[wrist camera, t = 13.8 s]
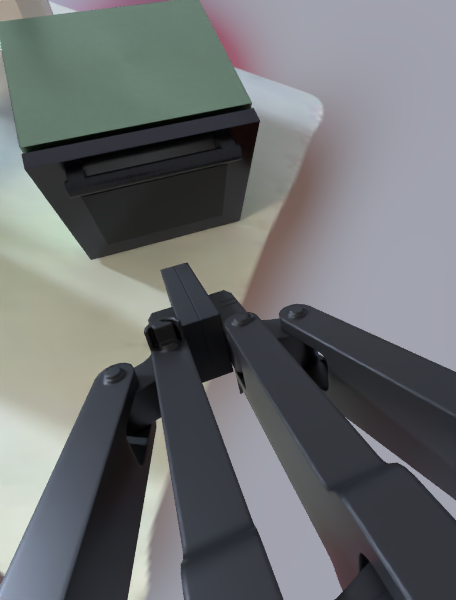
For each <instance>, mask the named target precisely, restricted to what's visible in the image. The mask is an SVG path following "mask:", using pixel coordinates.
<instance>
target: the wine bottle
mask: <svg viewBox="0 0 456 600" xmlns="http://www.w3.org/2000/svg"><path fill="white" fill-rule="evenodd" d="M49 15H53V12H52V9H51V7H50V4H49V1H48V0H0V21H8V20H16V19H25V18H33V17H41V16H49Z"/></svg>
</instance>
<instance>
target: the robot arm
mask: <svg viewBox="0 0 456 600" xmlns="http://www.w3.org/2000/svg"><path fill="white" fill-rule="evenodd" d="M161 274H162V277H163V280H164V283H165V287H166V290H167V293H168V296H169V300H170V303H171V306H172V307H171V308H167V309H164V310H161V311H158V312H154V313H152V314H151V316H150V317H149V319H148V322H149V324H148V325H147V327H146V328H145V330H144V334H145V336H146V339H147V342H148V345H149V347H150V350H151V356H150V357H149V358H148V359H147V360H146V361H145V362H143V363H142V364H140V365H138V366H137V367H135V368H134V367H133V366H132V365H131V364H128V363H119V364H115V365H112V366H110V367H108V368H106V369H105V370H103V371H102V372H101V373H100V374H99V375H98V376H97V378H96V379H95V381H94V383H93V385H92V387H91V390H90V392H89V394H88V396H87V398H86V400H85V403H84V405H83V407H82V409H81V411H80V413H79V416H78V418H77V420H76V422H75V424H74V426H73V429H72V431H71V433H70V435H69V437H68V440H67V442H66V444H65V446H64V448H63V450H62V453H61V455H60V457H59V459H58V461H57V463H56V466H55V468H54V470H53V472H52V474H51V477H50V479H49V481H48V483H47V485H46V487H45V490H44V492H43V494H42V496H41V498H40V500H39V503H38V505H37V507H36V509H35V511H34V513H33V516H32V518H31V520H30V522H29V524H28V527H27V529H26V531H25V533H24V535H23V537H22V540H21V542H20V544H19V546H18V548H17V550H16V553H15V555H14V557H13V559H12V561H11V563H10V566H9V568H8V570H7V572H6V574H5V577H4V579H3V581H2V583H1V585H0V600H127V599H128V593H129V587H130V581H131V575H132V569H133V563H134V557H135V551H136V545H137V539H138V533H139V527H140V521H141V515H142V509H143V504H144V498H145V492H146V486H147V480H148V474H149V468H150V462H151V456H152V450H153V444H154V438H155V432H156V420H157V419H159V418H160V417H162V423H163V430H164V436H165V442H166V449H167V455H168V461H169V467H170V474H171V480H172V486H173V492H174V499H175V505H176V511H177V517H178V524H179V530H180V536H181V542H182V549H183V561H182V563H181V579H182V587H183V595H184V600H283V597H282V594H281V592H280V589H279V587H278V584H277V581H276V578H275V576H274V573H273V570H272V567H271V565H270V562H269V559H268V557H267V554H266V551H265V549H264V546H263V543H262V541H261V538H260V535H259V533H258V531H257V529H256V527H255V526H254V523H253V521H252V518H251V515H250V513H249V510H248V507H247V505H246V502H245V499H244V496H243V494H242V491H241V488H240V485H239V483H238V480H237V477H236V474H235V472H234V469H233V466H232V464H231V461H230V458H229V455H228V453H227V450H226V447H225V445H224V442H223V439H222V436H221V434H220V431H219V428H218V425H217V423H216V420H215V417H214V415H213V412H212V409H211V406H210V403H209V401H208V398H207V395H206V392H205V390H204V387H203V384H202V383H203V382H206V381H209V380H211V379H214V378H217V377H220V376H222V375H225V374H228V373H231V372H233V368H232V365H233V366H234V368H235V372H236V376H237V381H238V385H239V389H240V394H241V393H243V391H244V393H245V395H246V397H247V399H248V401H249V403H250V405H251V407H252V409H253V410H254V412H255V414H256V416H257V418H258V420H259V422H260V424H261V426H262V428H263V430H264V432H265V434H266V435H267V437H268V439H269V441H270V443H271V445H272V447H273V449H274V451H275V453H276V455H277V456H278V458H279V460H280V462H281V464H282V466H283V468H284V470H285V472H286V474H287V475H288V478H289V479H290V481H291V483H292V485H293V487H294V489H295V491H296V493H297V495H298V497H299V499H300V500H301V502H302V504H303V506H304V508H305V510H306V512H307V514H308V516H309V518H310V520H311V521H312V523H313V525H314V527H315V529H316V531H317V533H318V535H319V537H320V539H321V541H322V543H323V544H324V546H325V548H326V550H327V552H328V554H329V556H330V558H331V561H332V563H333V566H334V568H335V571H336V574H337V577H338V580H339V583H340V585H341V587H342V590H343V592H342V593H341V594H340V595H339V596H338V597H337V598H336V599H335V600H456V520H455V519H454V518H453V517H452V516H451V515H450V514H449V512H448V511H447V510H446V509H445V508H444V507H443V506H442V505H441V504H440V503H439V502H438V501H437V500H436V499H435V497H434V496H433V495H432V494H431V493H430V492H429V491H428V490H427V489H426V488H425V486H424V485H423V484H422V483H421V482H420V481H419V480H418V479H417V478H416V477H415V476H414V475H413V474H412V473H411V472H410V471H409V470H408V469H407V468H405V467H404V466H402V465H400V464H398V463H390V464H388V463H386V462H384V461H383V460H382V459H381V458H380V457H379V456H378V455H377V454H376V453H375V451H374V450H373V449H372V448H371V447H370V446H369V444H368V443H367V442H366V441H365V440H364V439H363V437H362V436H361V435H360V434H359V433H358V432H357V431H356V429H355V428H354V427H353V426H352V425H351V424H350V422H349V421H348V420H347V419H349V420H350V421H352V422H353V423H354V424H356V425H357V426H358V427H359V428H361V429H362V430H363V431H365V432H366V433H367V434H369V435H370V436H371V437H373V438H374V439H375V440H377V441H378V442H379V443H381V444H382V445H383V446H385V447H386V448H387V449H389V450H390V451H391V452H393V453H394V454H395V455H397V456H398V457H399V458H401V459H402V460H403V461H405V462H406V463H407V464H409V465H410V466H411V467H413V468H414V469H415V470H417V471H418V472H419V473H421V474H422V475H423V476H424V477H426V478H427V479H429V480H430V481H431V482H433V483H434V484H435V485H436V486H438V487H439V488H440V489H442V490H443V491H444V492H446V493H447V494H448V495H450V496H451V497H453V498H454V499H455V500H456V372H454V371H452V370H450V369H448V368H446V367H443V366H441V365H439V364H437V363H434V362H432V361H430V360H427V359H426V358H423V357H421V356H419V355H416V354H415V353H412V352H410V351H408V350H406V349H404V348H401V347H399V346H397V345H394V344H392V343H390V342H388V341H386V340H384V339H381V338H379V337H377V336H375V335H372V334H370V333H368V332H366V331H364V330H362V329H359V328H357V327H355V326H353V325H350V324H348V323H346V322H344V321H342V320H339V319H337V318H335V317H333V316H331V315H328V314H326V313H324V312H322V311H320V310H317V309H315V308H313V307H311V306H308V305H304V304H293V305H290V306H287V307H285V308H283V309H282V310H281V311H280V313H279V318H280V319H272V320H261V319H260V318H259V317H258V316H257V315H256V314H254V313H250V312H246V311H245V309H244V308H243V307H242V306H241V304H240V303H239V302H238V301H237V300H236V298H235V297H234V296H233V295H232V294H231V293H230V292H227V291H224V290H223V291H220V292H217V293H213V294H210V295H208V294H207V293H206V291H205V290H204V288H203V286H202V285H201V283H200V282H199V280H198V279H197V277H196V275H195V274H194V272H193V271H192V269H191V268H190V266H189V265H188V263H184V264H180V265H177V266H173V267H170V268H166V269H162V270H161ZM318 352H320V353H321V354H322V355H323V356H324V357H323V356H321V355H319V354H318ZM344 416H345V417H346V418H347V419H346V418H345V417H344Z"/></svg>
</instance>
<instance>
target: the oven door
mask: <svg viewBox="0 0 456 600" xmlns="http://www.w3.org/2000/svg"><path fill="white" fill-rule="evenodd" d="M259 123H260V120H259V118H258V116H257V114H256V112H255V110H254V108H252V109H247V110H242V111H236V112H231V113H226V114H221V115H216V116H211V117H206V118H201V119H196V120H191V121H186V122H181V123H175V124H170V125H165V126H160V127H155V128H150V129H145V130H140V131H135V132H130V133H125V134H120V135H114V136H109V137H104V138H99V139H94V140H89V141H84V142H79V143H74V144H69V145H64V146H58V147H53V148H48V149H43V150H38V151H33V152H28V153H23V154H22V158H23V164H24V169H25V170H26V172H27V173H28V174H29V176H30V177H31V178H32V180H33V181H34V183H35V184H36V185H37V187H38V188H39V189H40V191H41V192H42V194H43V195H44V196H45V198H46V199H47V200H48V202H49V203H50V204H51V206H52V207H53V209H54V210H55V211H56V213H57V214H58V215H59V217H60V218H61V220H62V221H63V222H64V224H65V225H66V226H67V228H68V229H69V230H70V232H71V233H72V235H73V236H74V237H75V239H76V240H77V241H78V243H79V244H80V246H81V247H82V248H83V250H84V251H85V252H86V254H87V255H88V257H89V258H90V259H91V260H92V259H96V258H100V257H103V256H107V255H111V254H115V253H118V252H122V251H126V250H130V249H134V248H137V247H141V246H145V245H149V244H152V243H156V242H160V241H164V240H167V239H171V238H175V237H179V236H182V235H186V234H190V233H194V232H198V231H201V230H205V229H209V228H213V227H216V226H220V225H224V224H228V223H231V222H235V221H239V220H240V217H241V212H242V207H243V202H244V197H245V192H246V187H247V182H248V177H249V172H250V167H251V162H252V157H253V152H254V147H255V142H256V137H257V132H258V128H259Z"/></svg>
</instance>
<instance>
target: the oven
mask: <svg viewBox="0 0 456 600" xmlns="http://www.w3.org/2000/svg"><path fill="white" fill-rule="evenodd" d="M0 45H1V50H2V55H3V61H4V66H5V71H6V77H7V82H8V88H9V93H10V98H11V104H12V109H13V114H14V120H15V125H16V131H17V136H18V141H19V147H20V149H21V150H22V152H23V153H28V152H33V151H38V150H43V149H48V148H53V147H58V146H64V145H69V144H74V143H79V142H84V141H89V140H94V139H99V138H104V137H109V136H114V135H120V134H125V133H130V132H135V131H140V130H145V129H150V128H155V127H160V126H165V125H170V124H175V123H181V122H186V121H191V120H196V119H201V118H206V117H211V116H216V115H221V114H226V113H231V112H236V111H242V110H247V109H251V105H252V102H251V100H250V98H249V96H248V94H247V92H246V90H245V88H244V86H243V84H242V82H241V81H240V79H239V77H238V75H237V73H236V71H235V69H234V67H233V65H232V63H231V61H230V59H229V57H228V55H227V53H226V52H225V50H224V48H223V46H222V44H221V42H220V40H219V38H218V36H217V34H216V32H215V30H214V28H213V26H212V24H211V22H210V20H209V19H208V16H207V15H206V13H205V11H204V9H203V7H202V5H201V3H200V1H199V0H173V1H165V2H156V3H148V4H139V5H131V6H123V7H115V8H108V9H98V10H90V11H82V12H74V13H66V14H57V15H49V16H41V17H33V18H25V19H16V20H8V21H0Z"/></svg>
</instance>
